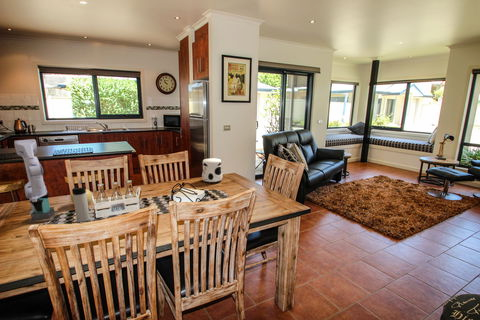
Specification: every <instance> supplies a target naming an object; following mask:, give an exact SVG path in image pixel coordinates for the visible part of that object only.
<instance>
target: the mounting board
mask: <svg viewBox="0 0 480 320" xmlns="http://www.w3.org/2000/svg"><path fill="white" fill-rule="evenodd" d="M55 211H56V213H55V214H54V215H53V216H52V217H51V218H50V219H42V220H33V221H29V220H28V221H26V225H34V224H42V223H48V222H47V221H51V220H52V221H53V220H54V219H55V217H56V216H57V215H58V214H59V210H55ZM52 221H51V222H52Z"/></svg>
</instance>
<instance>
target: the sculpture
mask: <svg viewBox="0 0 480 320" xmlns="http://www.w3.org/2000/svg"><path fill="white" fill-rule="evenodd" d="M85 189H86V195H87V202H88V205H90V204H92V202H93V200H92V196H93V197H94V195H93V193H92V191H90V189H87V188H85ZM70 201H71V202H72V203H73V205H74V199H73V193H71V195H70Z"/></svg>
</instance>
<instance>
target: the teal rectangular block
mask: <svg viewBox="0 0 480 320" xmlns="http://www.w3.org/2000/svg"><path fill="white" fill-rule="evenodd" d="M39 199H40V200H43V203H42V211H41V212H37V211H36V209H35V207H34V211H35V214H36V213H46V212H48V211H49V210H50V207H51V205H50V202H49V197H48V198H39Z"/></svg>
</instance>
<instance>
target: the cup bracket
mask: <svg viewBox="0 0 480 320" xmlns="http://www.w3.org/2000/svg"><path fill="white" fill-rule="evenodd" d="M54 207H55V206H50V210H49V211H48V212H46V213H36V214H35V211H34V212H33V213H30V219H29V220H28V221H33V220H42V219H50V218H51V217H52V216H53V215H54V214H55V213H56V211H57V210H55V208H54Z"/></svg>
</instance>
